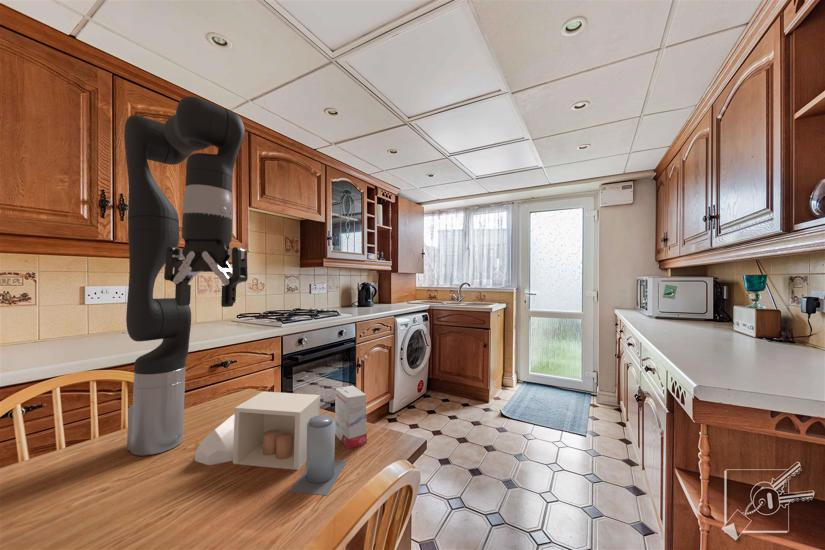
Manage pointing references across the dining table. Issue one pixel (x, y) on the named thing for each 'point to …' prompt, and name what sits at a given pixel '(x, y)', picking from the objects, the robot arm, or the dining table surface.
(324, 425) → the jar
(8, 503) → the dining table surface
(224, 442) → the white beveled prism
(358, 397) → the ink box
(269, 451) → the brown tapered cup
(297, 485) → the mat
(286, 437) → the rounded tan cylinder
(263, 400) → the cubby
